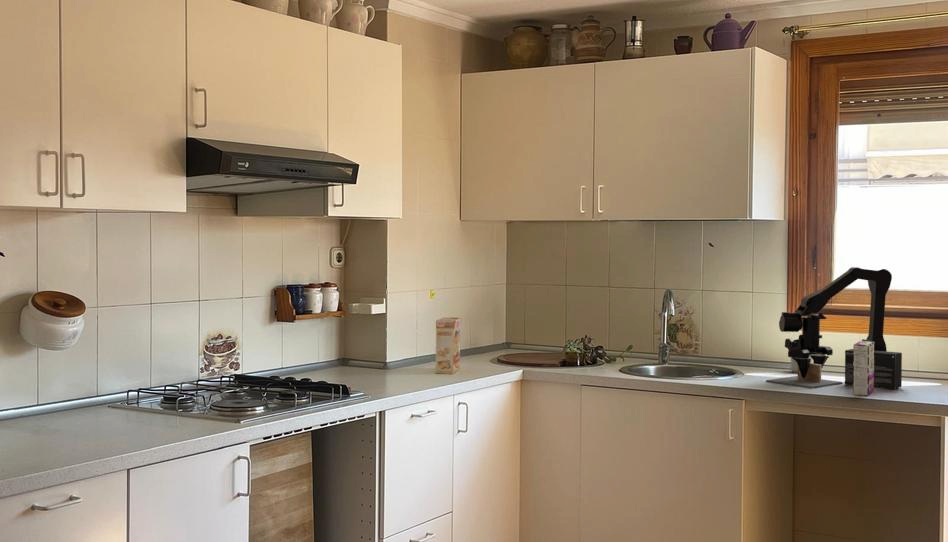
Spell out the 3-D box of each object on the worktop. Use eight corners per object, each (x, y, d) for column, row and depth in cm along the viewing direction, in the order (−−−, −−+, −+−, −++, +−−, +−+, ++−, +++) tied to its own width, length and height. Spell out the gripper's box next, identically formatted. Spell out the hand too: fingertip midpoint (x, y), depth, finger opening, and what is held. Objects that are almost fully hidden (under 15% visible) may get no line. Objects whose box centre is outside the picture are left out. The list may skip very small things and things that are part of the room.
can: (793, 370, 356) (794, 338, 356) (813, 371, 352) (814, 340, 352) (788, 372, 350) (788, 340, 350) (808, 374, 346) (809, 341, 345)
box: (902, 387, 314) (902, 351, 313) (895, 390, 309) (895, 354, 308) (851, 381, 326) (851, 347, 325) (844, 384, 321) (844, 350, 320)
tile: (821, 382, 322) (821, 364, 322) (818, 382, 321) (818, 365, 321) (800, 379, 329) (800, 362, 328) (797, 379, 328) (797, 362, 327)
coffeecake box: (453, 374, 339) (454, 320, 338) (434, 373, 340) (434, 320, 339) (461, 368, 354) (461, 317, 353) (442, 368, 355) (442, 316, 354)
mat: (842, 383, 323) (842, 382, 323) (812, 388, 312) (812, 386, 312) (796, 377, 337) (796, 375, 337) (766, 381, 326) (766, 380, 326)
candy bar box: (857, 390, 309) (858, 340, 308) (874, 391, 306) (875, 341, 306) (851, 394, 299) (852, 343, 299) (868, 396, 297) (869, 344, 296)
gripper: (805, 328, 336) (804, 372, 337) (774, 331, 325) (773, 376, 325) (833, 331, 327) (833, 375, 328) (803, 334, 316) (802, 380, 317)
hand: (810, 376), depth 325 cm, fingers open, 7 cm apart
